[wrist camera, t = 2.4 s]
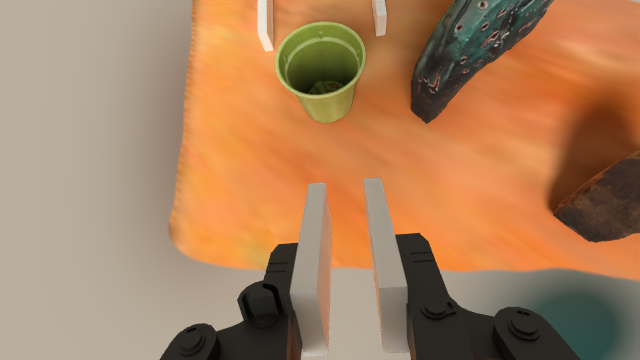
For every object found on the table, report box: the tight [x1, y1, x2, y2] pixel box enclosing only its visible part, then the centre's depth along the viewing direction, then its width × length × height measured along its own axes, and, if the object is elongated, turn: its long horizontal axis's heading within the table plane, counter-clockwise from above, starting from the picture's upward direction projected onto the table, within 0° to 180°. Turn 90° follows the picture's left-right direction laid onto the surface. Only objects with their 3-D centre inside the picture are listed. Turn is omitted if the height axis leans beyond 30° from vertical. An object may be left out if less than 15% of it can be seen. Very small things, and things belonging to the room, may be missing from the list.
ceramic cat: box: [411, 0, 554, 124], centre depth 32 cm, size 20×6×20 cm, turn 132°
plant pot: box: [275, 21, 366, 123], centre depth 38 cm, size 9×9×9 cm
